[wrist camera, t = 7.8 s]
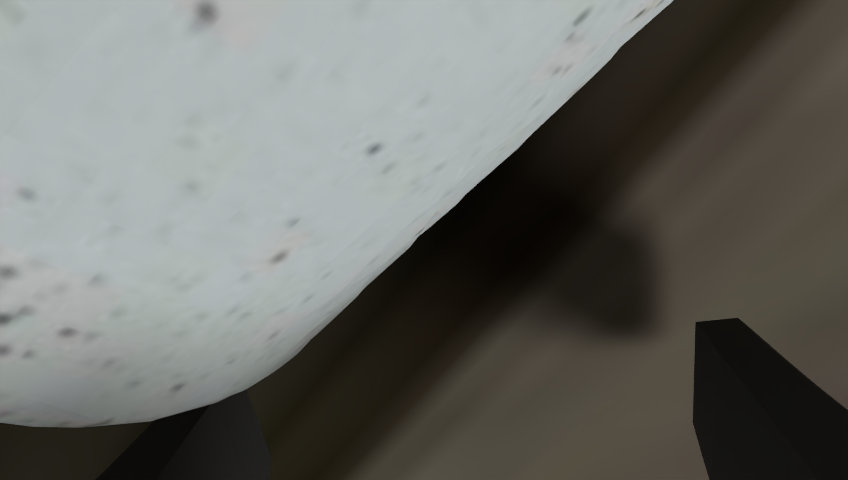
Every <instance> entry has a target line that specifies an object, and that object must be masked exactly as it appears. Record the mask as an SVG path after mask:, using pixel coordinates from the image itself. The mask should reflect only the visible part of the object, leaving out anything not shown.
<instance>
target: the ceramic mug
mask: <svg viewBox="0 0 848 480" xmlns="http://www.w3.org/2000/svg"><path fill="white" fill-rule="evenodd" d="M672 1H673V0H0V423H9V424H17V425H25V426H33V427H90V426H102V425H113V424H124V423H135V422H147V421H153V420H156V419H160V418H163V417H167V416H171V415H174V414H178V413H181V412H185V411H188V410H192V409H196V408H199V407H203V406H206V405H210V404H213V403H217V402H219V401H221V400H223V399H225V398H227V397H229V396H231V395H234V394H236V393H239V392H241V391H244V390H246V389H247V388H249V387H250V386H252V385H254V384H255V383H257V382H259V381H260V380H262V379H263V378H265V377H267V376H268V375H270V374H272V373H274V372H275V371H276V370H277V369H279V368H280V367H281V366H282V365H284V364H285V363H286V362H288V361H289V360H290V359H291V358H293V357H294V356H295V355H296V354H298V353H299V352H300V350H301V349H302V348H303V347H304V346H305V345H306V344H307V343H308V342H309V341H310V340H311V339H312V338H313V337H314V336H316V335H317V334H318V333H319V332H320V331H321V330H322V329H323V328H324V327H325V326H326V325H327V324H328V323H330V322H331V321H332V320H333V319H334V318H335V317H336V316H337V315H338V314H339V313H340V312H341V311H342V310H343V309H344V308H345V307H346V306H347V305H349V304H350V303H351V302H352V301H353V300H354V299H355V298H356V297H357V296H358V295H359V294H360V292H361V291H362V290H363V289H364V288H365V287H366V286H367V285H368V284H369V283H370V282H372V281H373V280H374V279H375V278H376V277H377V276H378V275H379V274H380V273H382V272H383V271H384V270H385V269H386V268H387V267H388V266H389V265H390V264H392V263H393V262H394V261H395V260H396V259H397V258H398V257H399V256H401V255H402V254H403V253H404V252H405V251H406V250H407V249H408V248H409V247H410V246H411V245H412V244H413V242H414V241H415V240H416V239H417V237H418V236H419V235H421V234H422V233H423V232H425V231H426V230H427V229H428V228H430V227H431V226H432V225H433V224H434V223H435V222H437V221H438V220H439V219H440V218H441V217H442V216H444V215H445V214H446V213H447V212H448V211H449V210H451V209H452V208H453V207H454V206H455V205H456V204H457V203H459V201H460V200H461V199H462V198H463V197H464V195H466V194H467V193H468V192H469V191H470V190H471V189H472V188H473V187H475V186H476V185H477V184H478V183H479V182H480V181H481V180H482V179H484V178H485V177H486V176H487V175H488V174H489V173H490V172H492V171H493V170H494V169H495V168H496V167H497V166H498V165H499V164H501V163H502V162H503V161H504V160H505V159H506V158H507V157H509V156H510V155H511V154H512V153H513V152H514V151H515V150H517V149H518V148H519V147H520V146H521V145H522V144H523V142H524V141H525V140H526V139H527V138H528V137H529V136H530V135H531V134H532V133H533V132H534V131H536V130H537V129H538V128H539V127H540V126H541V125H542V124H543V123H544V122H545V121H546V120H547V119H548V118H549V117H550V116H551V115H552V114H554V113H555V112H556V111H557V110H558V109H559V108H560V107H561V106H562V105H563V104H564V103H565V102H566V101H567V100H568V99H569V98H571V97H572V96H573V95H574V94H575V93H576V92H577V91H578V90H579V89H580V88H581V87H582V86H583V85H584V84H585V83H586V82H588V81H589V80H590V79H591V78H592V77H593V76H594V75H595V74H596V73H597V72H598V71H599V70H600V69H601V68H602V67H603V66H604V65H605V64H606V63H607V62H608V61H609V60H610V59H611V58H612V56H613V55H614V54H615V53H616V52H617V50H618V49H619V48H620V47H621V46H622V45H623V44H624V43H625V42H627V41H628V40H629V39H630V38H631V37H632V36H633V35H635V34H636V33H637V32H638V31H639V30H640V29H641V28H643V27H644V26H645V25H646V24H647V23H648V22H649V21H650V20H652V19H653V18H654V17H655V16H656V15H657V14H658V13H660V12H661V11H662V10H663V9H664V8H665V7H666V6H668V5H669V4H670V3H671V2H672Z"/></svg>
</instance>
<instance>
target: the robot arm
mask: <svg viewBox="0 0 848 480" xmlns="http://www.w3.org/2000/svg"><path fill="white" fill-rule="evenodd" d="M693 425H694V428H695V432H696V435H697V439H698V442H699V446H700V449H701V453H702V456H703V460H704V463H705V466H706V469H707V473H708V476H709V479H710V480H848V410H847V409H846V408H845V407H843V406H842V405H841V404H840V403H838V402H837V401H836V400H834V399H833V398H832V397H831V396H829V395H828V394H827V393H826V392H824V391H823V390H822V389H821V388H819V387H818V386H817V385H816V384H815V383H813V382H812V381H811V380H810V379H809V378H807V377H806V376H805V375H804V374H803V373H801V372H800V371H799V370H798V369H797V368H796V367H794V366H793V365H792V364H791V363H790V362H788V361H787V360H786V359H785V358H784V357H783V356H782V355H780V354H779V353H778V352H777V351H776V350H775V349H773V348H772V347H771V346H770V345H769V344H768V343H767V342H765V341H764V340H763V339H762V338H761V337H760V336H759V335H757V334H756V333H755V332H754V331H753V330H752V329H750V328H749V327H748V326H747V325H746V324H745V323H743V322H742V321H741V320H740V319H738V318H732V319H722V320H712V321H702V322H696V328H695V365H694V402H693ZM270 465H271V456H270V453H269V450H268V448H267V445H266V442H265V439H264V437H263V434H262V431H261V429H260V426H259V423H258V420H257V418H256V415H255V412H254V410H253V407H252V404H251V402H250V399H249V396H248V393H247V391H246V390H244V391H241V392H239V393H236V394H234V395H231V396H229V397H227V398H225V399H223V400H221V401H219V402H217V403H213V404H210V405H206V406H203V407H199V408H196V409H192V410H188V411H185V412H181V413H178V414H174V415H171V416H167V417H163V418H160V419H156V420H154V421H153V423H152V424H151V425H150V426H149V427H148V428H147V429H146V430H145V431H144V432H143V433H142V434H141V435H140V436H139V437H138V438H137V439H136V440H135V441H134V442H133V443H132V444H131V445H130V446H129V447H128V448H127V449H126V450H125V451H124V452H123V453H122V454H121V455H120V456H119V457H118V458H117V459H116V460H115V461H114V462H113V463H112V464H111V465H110V466H109V467H108V468H107V469H106V470H105V471H104V472H103V473H102V474H101V475H100V476H99V477H98V478H97V479H96V480H268V479H269V472H270Z"/></svg>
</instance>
